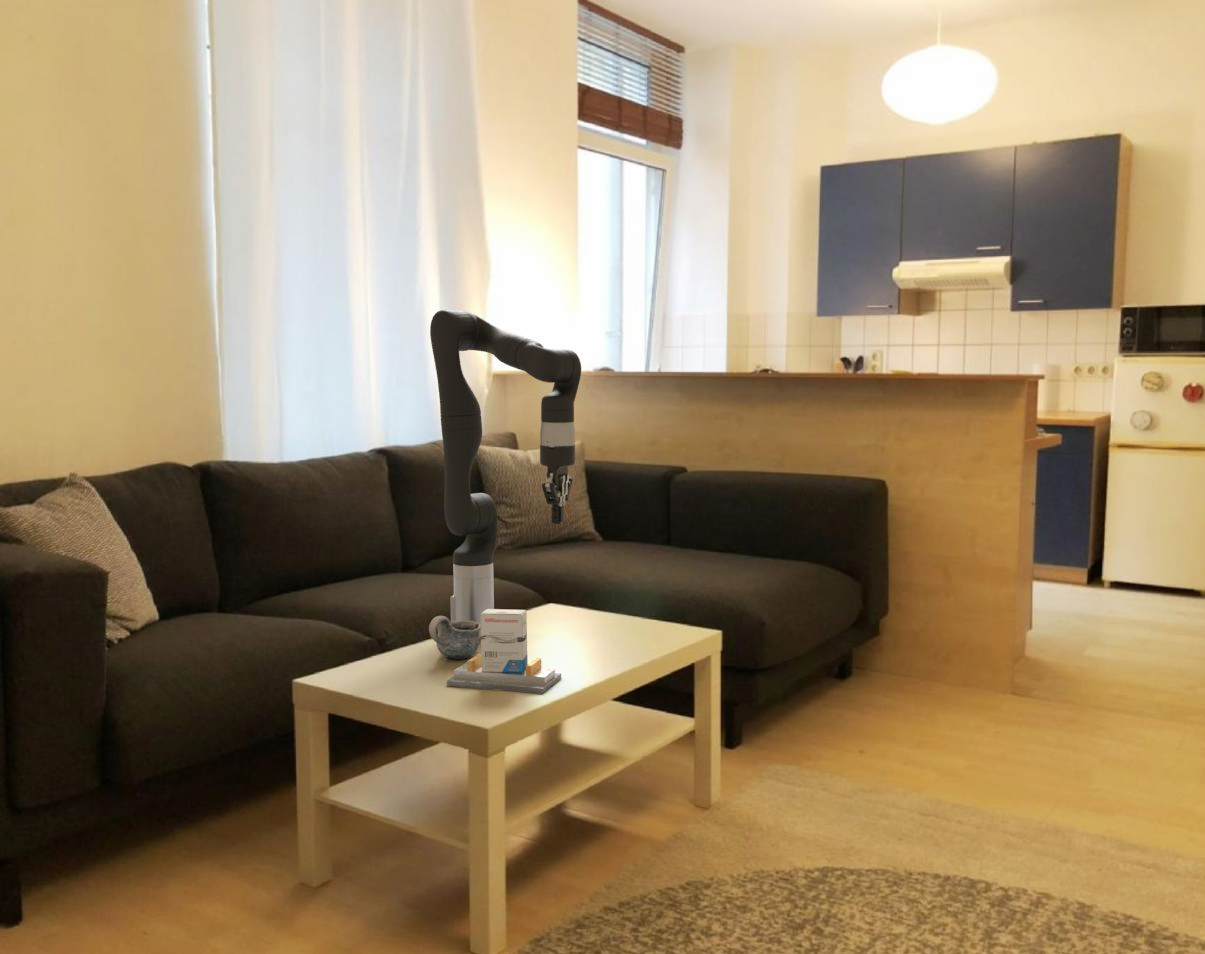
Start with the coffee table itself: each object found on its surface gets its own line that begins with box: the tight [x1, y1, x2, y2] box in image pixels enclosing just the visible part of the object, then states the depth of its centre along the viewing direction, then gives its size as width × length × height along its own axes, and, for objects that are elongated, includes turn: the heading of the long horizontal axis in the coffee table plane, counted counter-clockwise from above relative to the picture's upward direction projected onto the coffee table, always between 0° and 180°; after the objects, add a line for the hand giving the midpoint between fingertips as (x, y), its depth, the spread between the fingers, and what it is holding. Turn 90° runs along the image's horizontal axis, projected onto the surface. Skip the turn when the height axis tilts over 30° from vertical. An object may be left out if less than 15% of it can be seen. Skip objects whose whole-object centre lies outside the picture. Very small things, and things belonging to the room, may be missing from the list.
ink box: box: [480, 608, 529, 673], centre depth 220 cm, size 8×5×12 cm, turn 83°
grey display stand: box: [446, 653, 562, 695], centre depth 220 cm, size 20×11×4 cm, turn 73°
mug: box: [428, 615, 481, 660], centre depth 238 cm, size 10×12×10 cm
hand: (557, 523), depth 240 cm, fingers closed
